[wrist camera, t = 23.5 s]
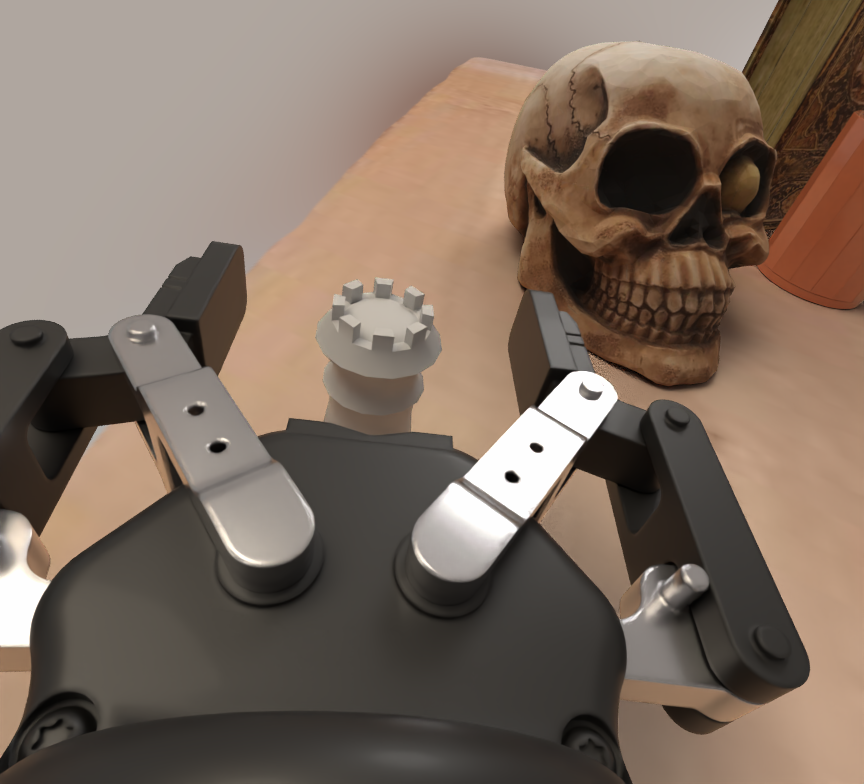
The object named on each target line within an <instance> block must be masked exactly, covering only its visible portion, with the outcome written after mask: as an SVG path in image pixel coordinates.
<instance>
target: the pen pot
mask: <svg viewBox="0 0 864 784" xmlns="http://www.w3.org/2000/svg"><path fill="white" fill-rule="evenodd" d="M768 242H769V255H768V257H767V259H766V260H765V261H764V262H763V263H762V264H760V265H757V266H758V268H759V270H760V271H761V272H762V273H763V274H764V275H765V276H766V277H767V278H768V279H769V280H771V281H772V282H773V283H775V284H776V285H778V286H779V287H781V288H783V289H784V290H786V291H788V292H790V293H792V294H794V295H796V296H798V297H800V298H803V299H805V300H807V301H810V302H813V303H816V304H819V305H823V306H827V307H831V308H837V309H852V308H855V307H857V306H859V305H860V303H861V302H862V301H863V300H864V110H858V111H855V112H853V114H852V115H851V117H850V118H849V120H848V121H847V123H846V124H845V126H844V127H843V129H842V130H841V132H840V134H839V135H838V137H837V138H836V140H835V141H834V143H833V144H832V146H831V147H830V149H829V150H828V152H827V153H826V155H825V156H824V158H823V159H822V161H821V162H820V164H819V165H818V167H817V168H816V170H815V171H814V173H813V174H812V176H811V177H810V179H809V180H808V182H807V183H806V185H805V186H804V188H803V189H802V191H801V192H800V194H799V195H798V197H797V198H796V200H795V201H794V203H793V204H792V206H791V207H790V209H789V210H788V212H787V213H786V215H785V216H784V218H783V219H782V221H781V222H780V224H779V225H778V227H777V228H776V230H775V231H774V233H773V234H772V236H771V237H770V239H769V240H768Z"/></svg>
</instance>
